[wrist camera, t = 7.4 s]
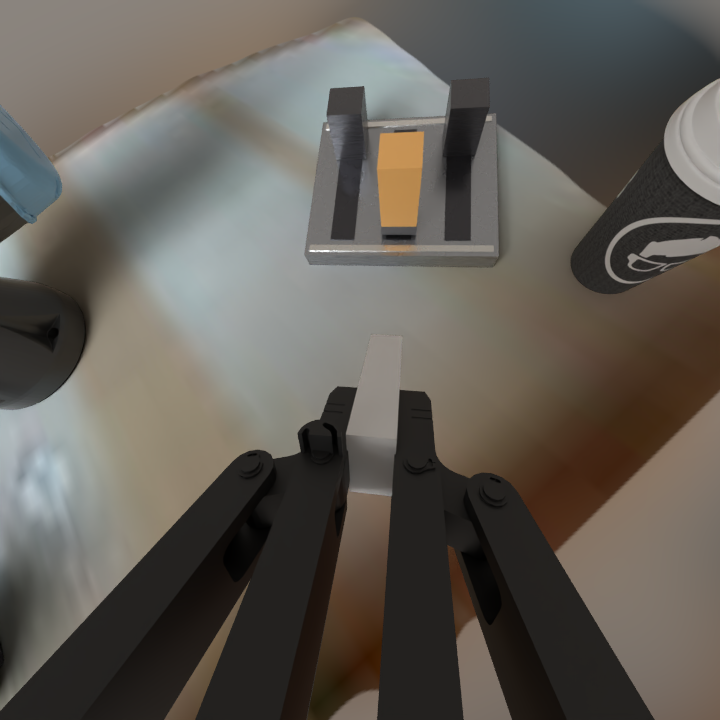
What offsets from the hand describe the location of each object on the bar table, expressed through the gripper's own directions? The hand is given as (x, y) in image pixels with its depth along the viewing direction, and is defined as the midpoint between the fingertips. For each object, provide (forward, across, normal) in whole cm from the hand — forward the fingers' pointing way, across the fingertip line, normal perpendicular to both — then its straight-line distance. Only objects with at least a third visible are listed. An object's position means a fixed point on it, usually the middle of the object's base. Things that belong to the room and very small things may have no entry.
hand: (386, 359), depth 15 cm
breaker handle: (+22, 0, +4) cm, 22 cm away
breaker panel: (+27, 0, +6) cm, 28 cm away
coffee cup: (+21, +21, 0) cm, 30 cm away
